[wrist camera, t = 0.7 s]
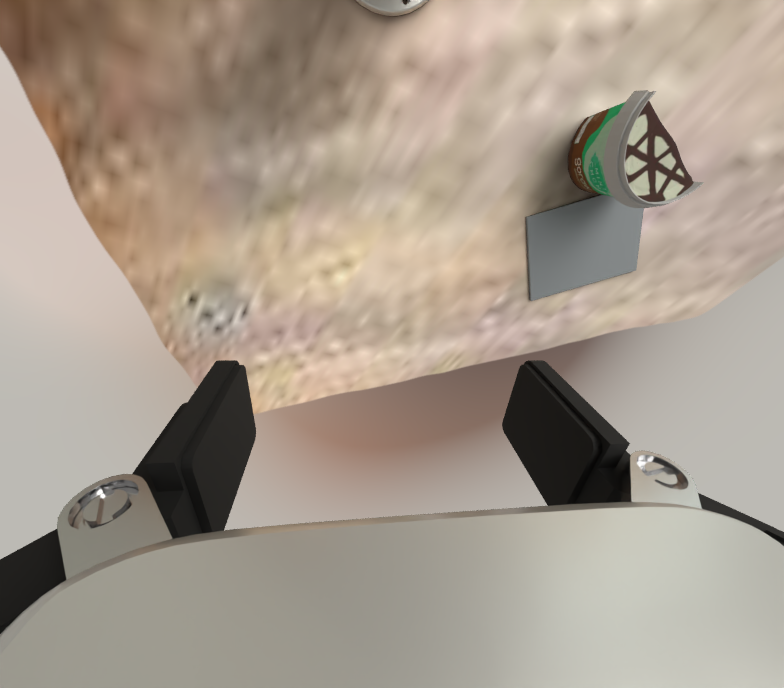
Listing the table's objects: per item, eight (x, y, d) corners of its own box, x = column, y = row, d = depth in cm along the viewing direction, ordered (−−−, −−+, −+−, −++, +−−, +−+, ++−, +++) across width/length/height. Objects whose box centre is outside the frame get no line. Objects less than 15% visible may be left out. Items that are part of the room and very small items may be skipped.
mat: (525, 217, 42) (527, 217, 41) (644, 181, 41) (646, 181, 41) (529, 299, 47) (531, 300, 47) (633, 269, 47) (636, 270, 47)
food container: (538, 154, 38) (594, 148, 30) (579, 107, 37) (652, 85, 28) (591, 223, 43) (653, 235, 34) (629, 184, 41) (705, 186, 33)
